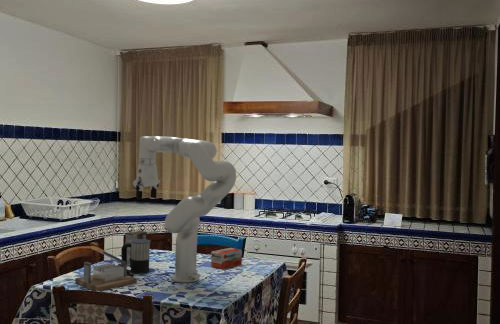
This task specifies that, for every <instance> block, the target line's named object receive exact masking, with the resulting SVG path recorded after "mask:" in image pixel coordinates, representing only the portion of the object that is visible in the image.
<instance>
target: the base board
mask: <svg viewBox="0 0 500 324" xmlns="http://www.w3.org/2000/svg"><path fill="white" fill-rule="evenodd" d="M74 279H75V280H74V281H75V282H74V283H75V284H78V285H80V286H82V287H84V288H86V289H89V290H91V289H92V291H94V290H97V291H99V292H102V291H107V290H112V289H111V288H113V289H116V287H117V288H121V286H122V287H125V286H126V287H127V286H130V285H135V284H137V281H138V279H137V278H136V277H133V276H124V279H119V280H114V281H109V282H103V281H100V280H98V279H95V278H93V274H91V283H86V282H84V276H80V277H75V278H74Z"/></svg>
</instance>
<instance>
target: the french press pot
mask: <svg viewBox="0 0 500 324" xmlns="http://www.w3.org/2000/svg"><path fill="white" fill-rule="evenodd" d="M147 238H148V232H146V231H143V230H136V231H135V230H134V231H128V232H125V243H124V244H126V243H132V242H131V240H135V239H147ZM147 240H148V239H147ZM130 254H131V247H127V266H130Z"/></svg>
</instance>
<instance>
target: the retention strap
mask: <svg viewBox="0 0 500 324" xmlns="http://www.w3.org/2000/svg"><path fill="white" fill-rule="evenodd" d="M90 249H91V250H93V251H96V252H98V253H100V254H102V255H104V256H106V257H108V258H110V259H112V260H115V261H116V262H118V263H123V264H126V261H123V260H122V258H119V257H117V256H115V255H113V254H111V253H109V252H107V251H105V250H104V249H102V248H100V247H97V246H94V245H91V246H90Z"/></svg>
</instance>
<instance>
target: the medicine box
mask: <svg viewBox="0 0 500 324" xmlns="http://www.w3.org/2000/svg"><path fill="white" fill-rule="evenodd" d="M210 256H211V257H210V266H211V268H213V269H219V270H226V269H229V268H234V267H237V266H241V265H242V262H243V251H242V249H238V248H233V247H229V248H224V249H223V248H222V249H219V250H213V251H211V253H210Z"/></svg>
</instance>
